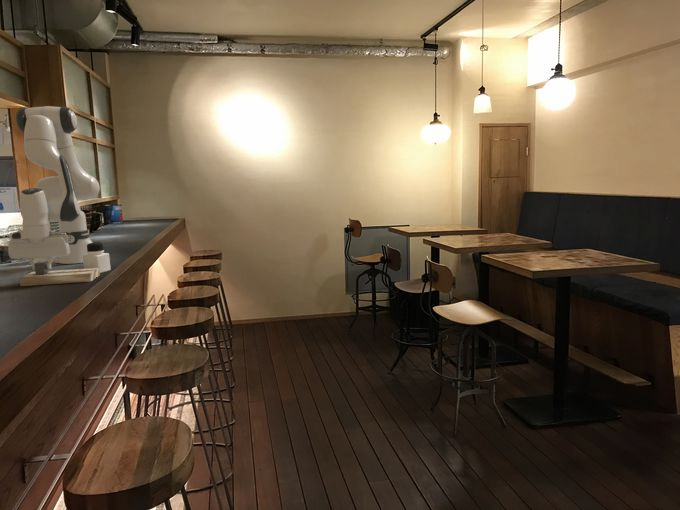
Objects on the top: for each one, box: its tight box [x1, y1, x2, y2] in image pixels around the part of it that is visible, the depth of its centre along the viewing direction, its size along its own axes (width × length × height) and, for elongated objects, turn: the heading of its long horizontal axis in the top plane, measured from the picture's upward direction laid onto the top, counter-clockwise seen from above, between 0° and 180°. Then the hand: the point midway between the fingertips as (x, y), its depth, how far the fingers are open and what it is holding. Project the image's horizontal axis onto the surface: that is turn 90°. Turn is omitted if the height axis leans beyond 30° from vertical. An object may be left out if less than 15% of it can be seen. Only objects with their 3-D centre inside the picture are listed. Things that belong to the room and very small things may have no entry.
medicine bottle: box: [83, 241, 112, 274], centre depth 207 cm, size 7×7×12 cm
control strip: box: [19, 267, 101, 287], centre depth 192 cm, size 12×24×3 cm, turn 100°
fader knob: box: [34, 261, 50, 274], centre depth 191 cm, size 5×3×4 cm, turn 10°
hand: (42, 269), depth 191 cm, fingers closed on fader knob, 3 cm apart
